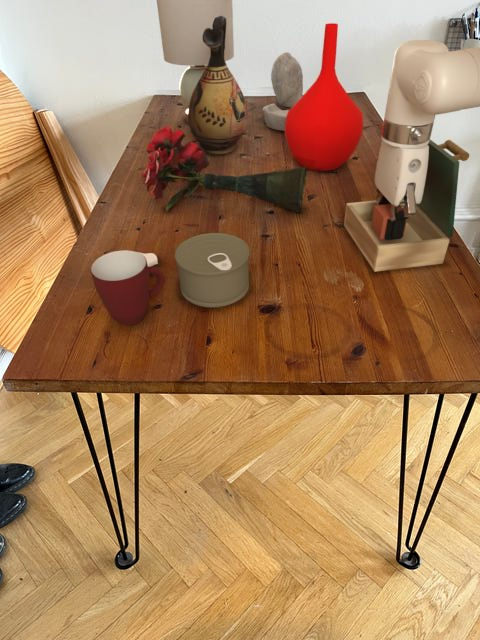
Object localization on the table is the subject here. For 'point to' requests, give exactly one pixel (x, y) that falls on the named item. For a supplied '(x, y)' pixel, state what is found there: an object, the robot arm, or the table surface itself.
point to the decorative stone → (287, 80)
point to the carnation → (189, 161)
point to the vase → (324, 117)
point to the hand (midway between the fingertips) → (387, 230)
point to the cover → (442, 184)
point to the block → (382, 219)
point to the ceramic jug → (217, 99)
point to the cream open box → (410, 251)
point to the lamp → (192, 36)
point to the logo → (150, 259)
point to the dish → (275, 117)
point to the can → (213, 269)
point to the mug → (125, 284)
